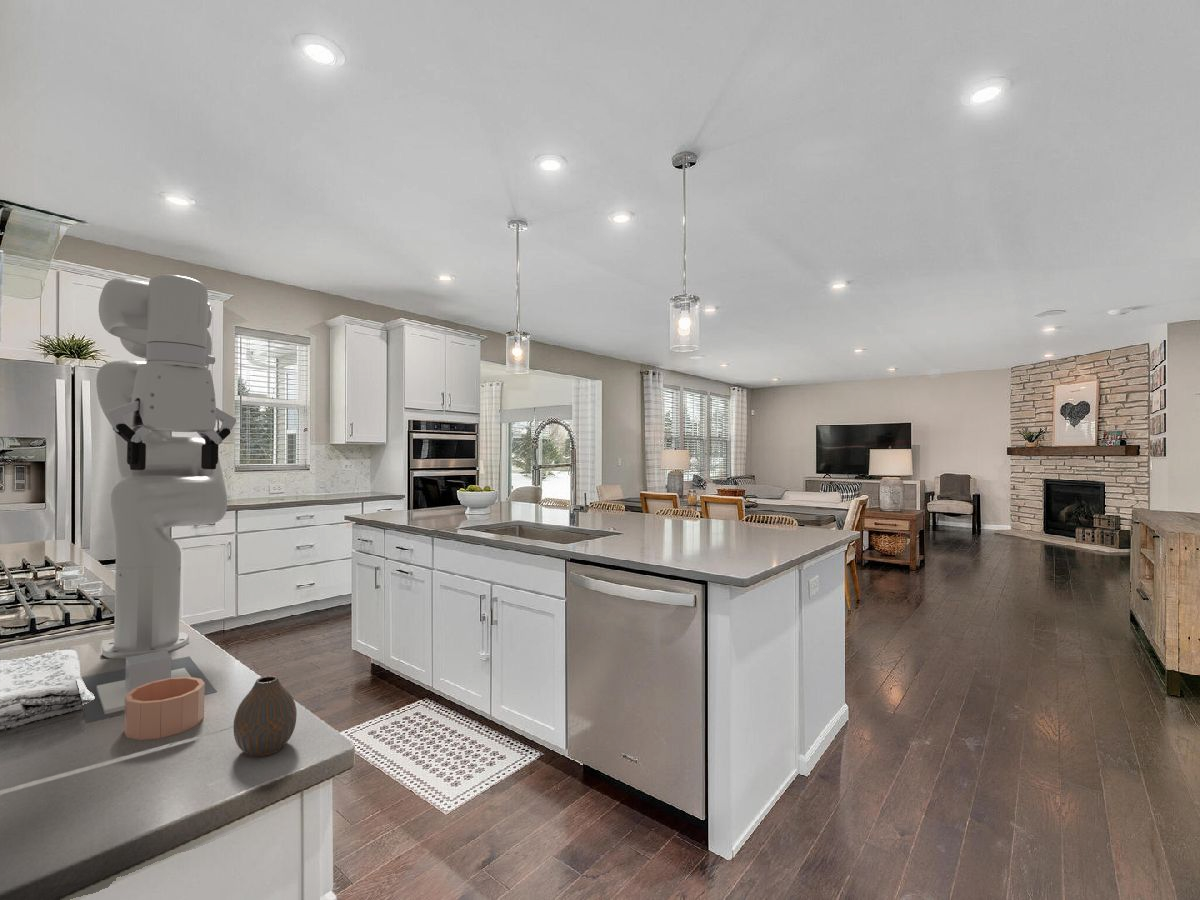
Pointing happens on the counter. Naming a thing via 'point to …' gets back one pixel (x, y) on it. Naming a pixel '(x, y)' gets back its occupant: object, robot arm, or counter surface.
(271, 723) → the vase
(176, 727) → the bowl
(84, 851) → the counter surface
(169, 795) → the counter surface
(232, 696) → the counter surface
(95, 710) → the mat
